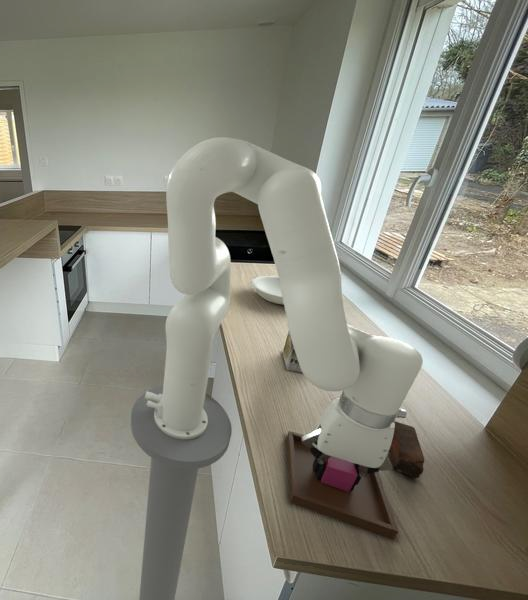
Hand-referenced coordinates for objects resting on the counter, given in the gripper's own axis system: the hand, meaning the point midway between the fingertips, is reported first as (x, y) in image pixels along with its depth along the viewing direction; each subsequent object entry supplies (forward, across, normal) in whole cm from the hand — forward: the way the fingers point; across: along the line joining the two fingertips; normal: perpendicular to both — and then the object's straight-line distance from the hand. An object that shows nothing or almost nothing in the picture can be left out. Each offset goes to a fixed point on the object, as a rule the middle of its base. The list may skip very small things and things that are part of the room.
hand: (332, 477), depth 62 cm
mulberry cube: (0, 0, 0) cm, 0 cm away
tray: (+1, 0, 0) cm, 1 cm away
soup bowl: (+1, +8, -85) cm, 85 cm away
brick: (+1, -14, -12) cm, 19 cm away
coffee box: (+1, +4, -39) cm, 39 cm away
